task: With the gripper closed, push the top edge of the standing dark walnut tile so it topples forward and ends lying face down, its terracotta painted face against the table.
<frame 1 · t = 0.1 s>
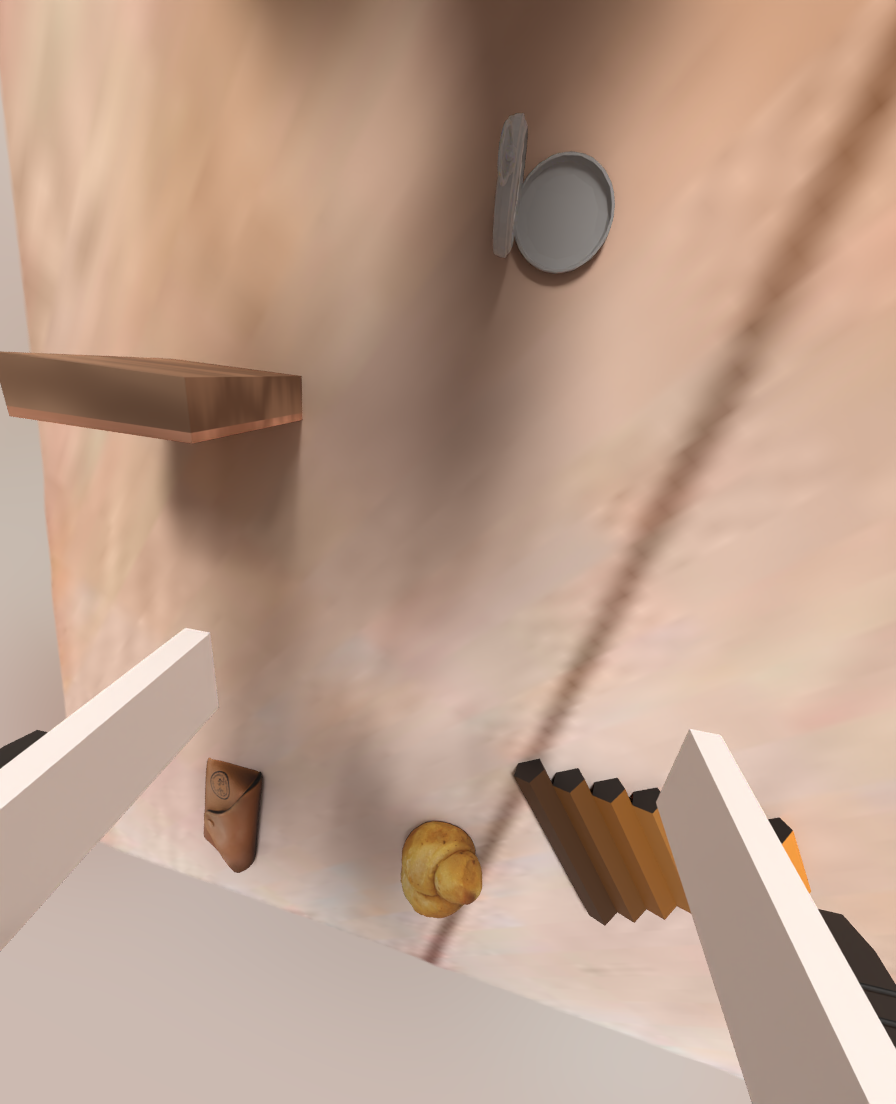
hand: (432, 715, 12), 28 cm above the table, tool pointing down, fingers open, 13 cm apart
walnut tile: (236, 385, 38), on the table
pan flute: (656, 814, 50), on the table
pocket watch: (544, 215, 30), on the table
bread roll: (440, 844, 57), on the table
sunglasses case: (236, 803, 61), on the table
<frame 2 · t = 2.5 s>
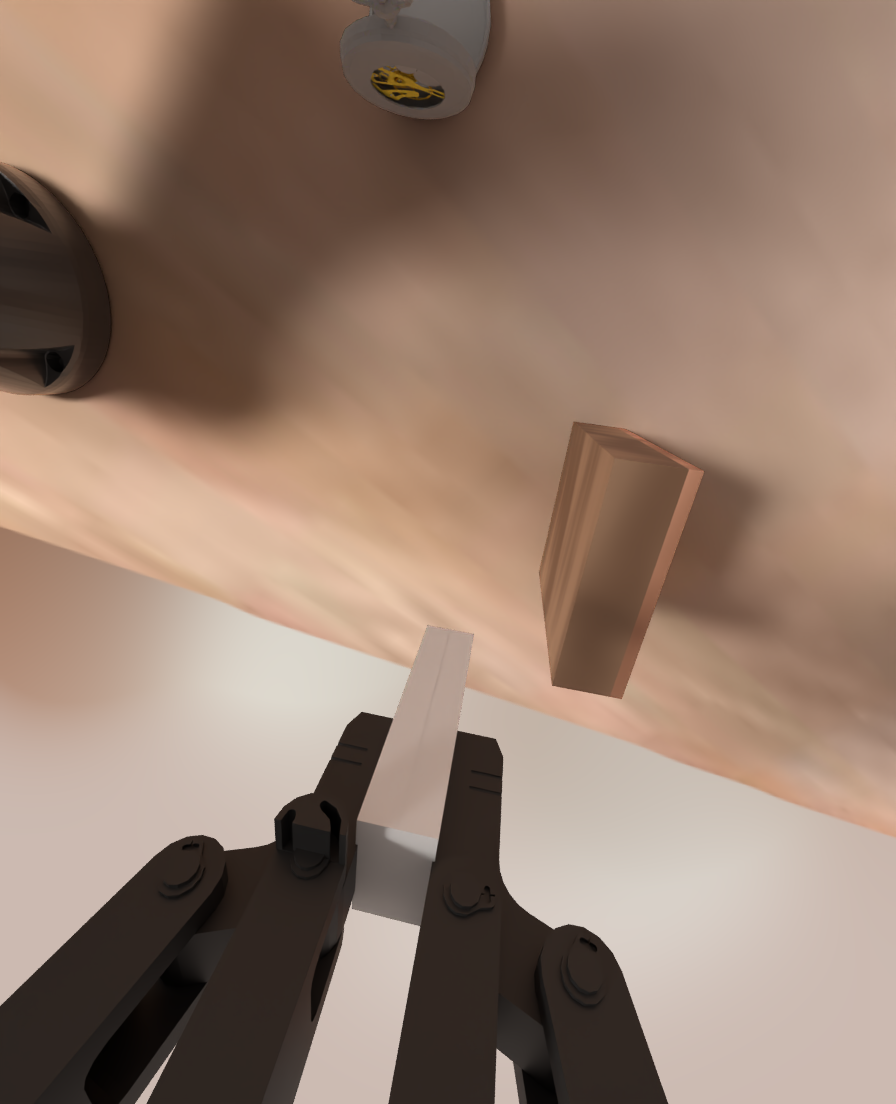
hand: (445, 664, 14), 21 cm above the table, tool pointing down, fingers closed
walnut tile: (574, 505, 33), on the table
pocket watch: (427, 65, 25), on the table
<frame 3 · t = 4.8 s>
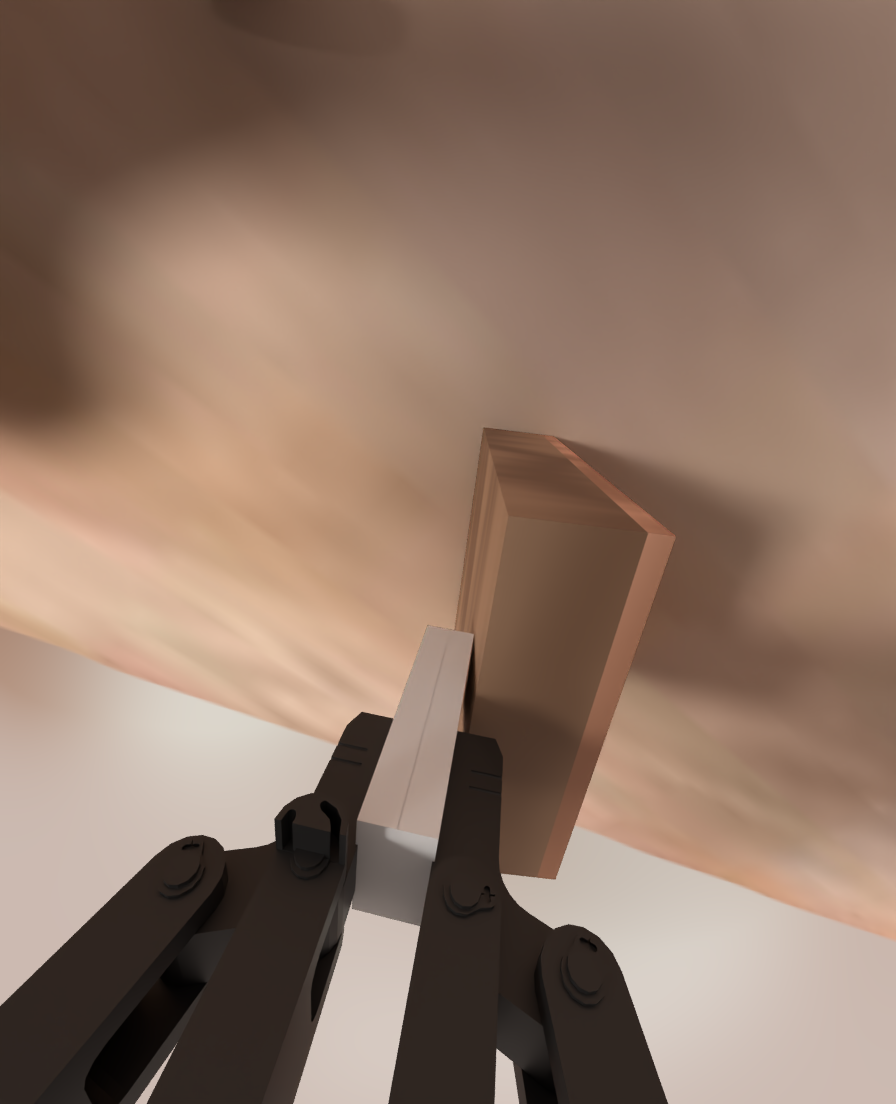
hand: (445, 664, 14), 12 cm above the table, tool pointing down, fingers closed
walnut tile: (494, 539, 24), on the table, tilted 6°, touching gripper
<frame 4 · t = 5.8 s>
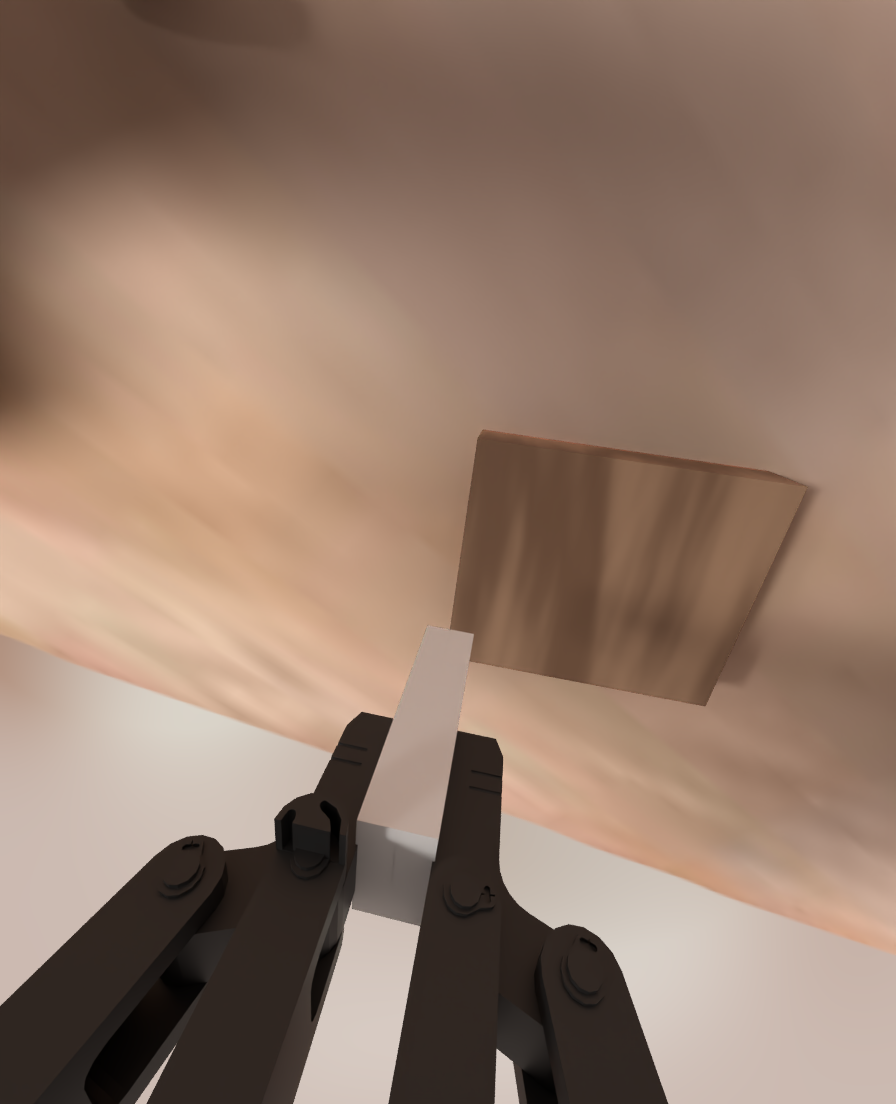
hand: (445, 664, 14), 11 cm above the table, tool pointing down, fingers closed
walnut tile: (463, 548, 23), point 2 cm above the table, tilted 90°
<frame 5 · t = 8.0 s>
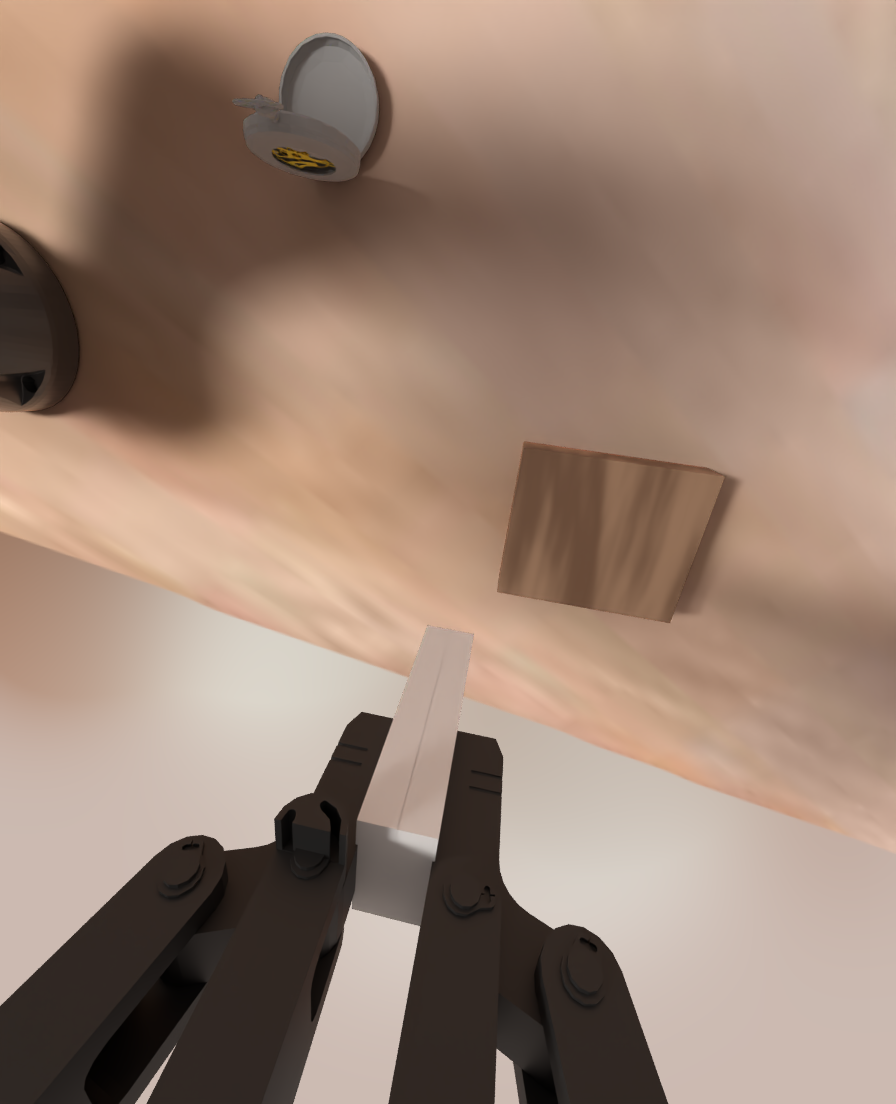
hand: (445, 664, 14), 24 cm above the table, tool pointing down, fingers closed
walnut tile: (510, 518, 35), point 2 cm above the table, tilted 90°
pocket watch: (332, 136, 29), on the table
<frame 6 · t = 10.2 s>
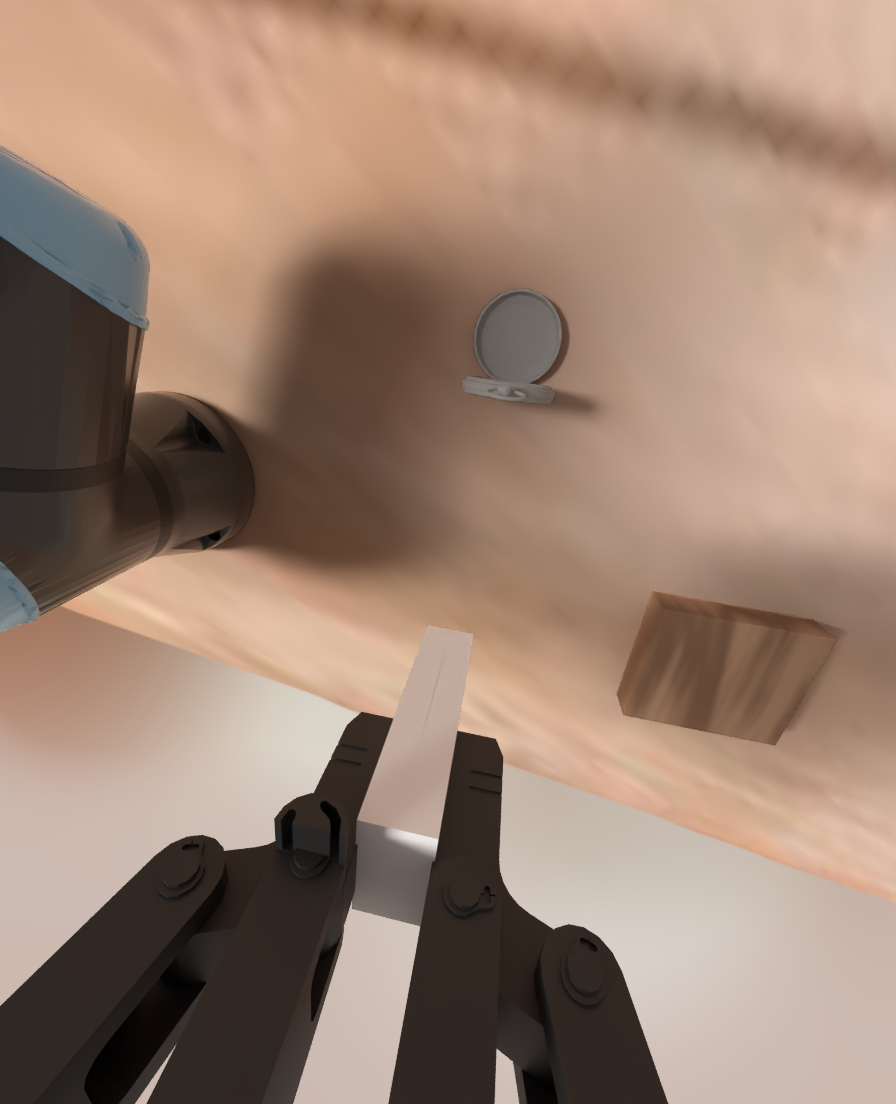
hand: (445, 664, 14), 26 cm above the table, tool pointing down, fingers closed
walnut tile: (637, 655, 41), point 2 cm above the table, tilted 90°
pocket watch: (512, 356, 34), on the table
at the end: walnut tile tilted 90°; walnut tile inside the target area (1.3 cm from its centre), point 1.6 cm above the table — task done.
